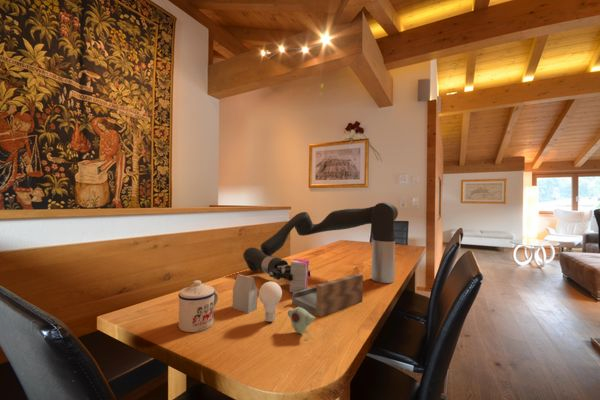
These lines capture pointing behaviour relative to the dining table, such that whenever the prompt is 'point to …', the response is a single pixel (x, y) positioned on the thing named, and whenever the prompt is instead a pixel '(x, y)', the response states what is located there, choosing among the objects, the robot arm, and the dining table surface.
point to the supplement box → (299, 275)
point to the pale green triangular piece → (300, 319)
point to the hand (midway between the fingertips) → (300, 275)
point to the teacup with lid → (196, 307)
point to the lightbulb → (270, 299)
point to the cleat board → (330, 295)
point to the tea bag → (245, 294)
